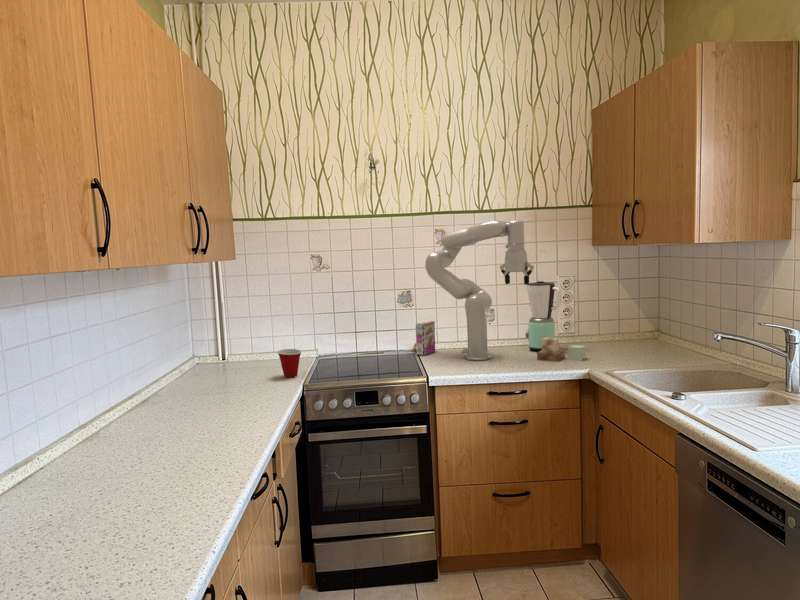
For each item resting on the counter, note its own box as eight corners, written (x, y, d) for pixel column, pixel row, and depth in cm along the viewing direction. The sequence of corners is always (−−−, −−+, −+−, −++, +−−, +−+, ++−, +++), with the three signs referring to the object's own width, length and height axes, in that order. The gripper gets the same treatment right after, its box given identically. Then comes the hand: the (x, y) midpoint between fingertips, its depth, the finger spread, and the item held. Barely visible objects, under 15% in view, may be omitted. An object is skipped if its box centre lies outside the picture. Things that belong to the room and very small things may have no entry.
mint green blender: (520, 350, 304) (519, 282, 300) (532, 346, 314) (531, 280, 310) (555, 354, 292) (554, 283, 288) (567, 349, 302) (566, 280, 298)
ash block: (542, 351, 282) (541, 339, 281) (546, 349, 287) (546, 337, 286) (554, 352, 278) (554, 340, 278) (558, 350, 283) (558, 337, 282)
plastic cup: (297, 379, 263) (295, 352, 262) (275, 379, 266) (273, 352, 264) (307, 373, 273) (305, 348, 272) (285, 373, 276) (283, 348, 275)
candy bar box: (424, 356, 302) (423, 324, 300) (416, 355, 305) (414, 323, 303) (436, 351, 311) (434, 320, 309) (428, 351, 314) (426, 320, 312)
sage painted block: (568, 359, 279) (568, 347, 278) (573, 357, 284) (573, 344, 283) (580, 360, 275) (580, 348, 275) (585, 358, 280) (585, 345, 279)
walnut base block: (537, 360, 281) (537, 352, 280) (544, 356, 289) (544, 348, 289) (558, 362, 276) (558, 353, 275) (564, 358, 284) (564, 350, 283)
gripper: (495, 248, 278) (496, 284, 280) (529, 247, 267) (530, 285, 269) (503, 247, 284) (504, 283, 286) (537, 246, 273) (537, 283, 275)
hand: (516, 284), depth 277 cm, fingers open, 9 cm apart
